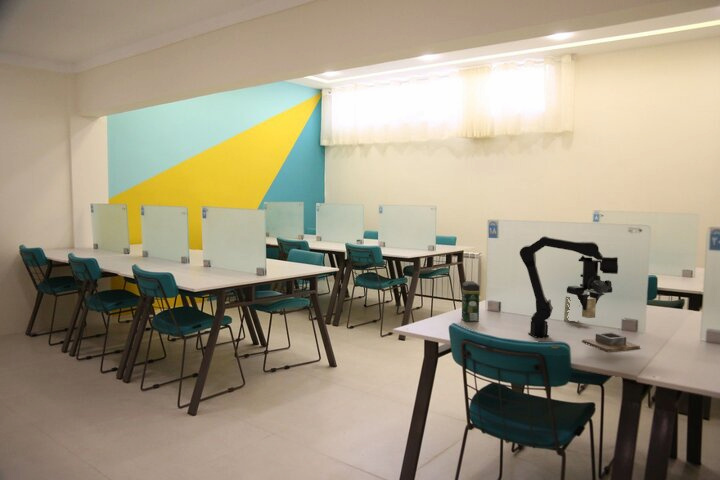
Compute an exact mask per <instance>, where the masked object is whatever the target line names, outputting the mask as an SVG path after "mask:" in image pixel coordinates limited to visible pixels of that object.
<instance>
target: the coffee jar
mask: <svg viewBox="0 0 720 480" xmlns="http://www.w3.org/2000/svg"><path fill="white" fill-rule="evenodd" d="M461 287H462V288H461V289H462V290H461V319H462V320H463V321H465V322H470V323H474V322H479V320H480V291H481V290H480V285H479V284H478V283H477V282H475V281H474V280H473V281H468V280H467V281H465V282H462V286H461Z"/></svg>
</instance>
